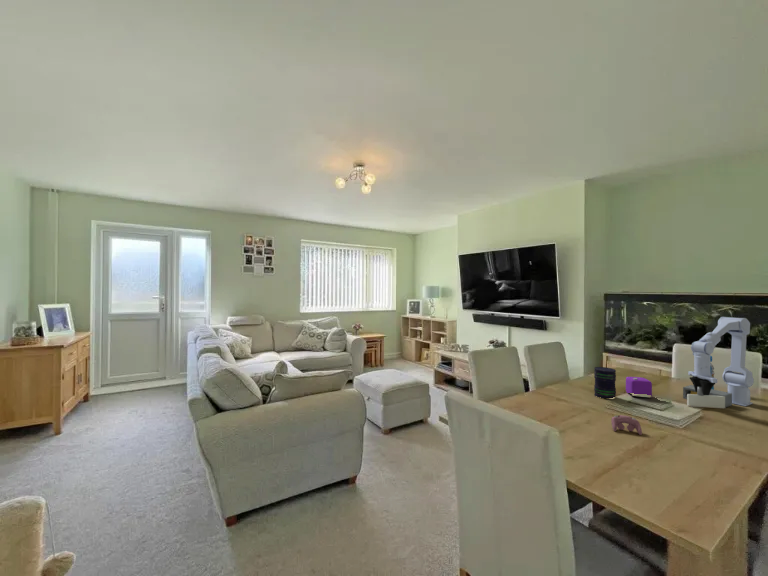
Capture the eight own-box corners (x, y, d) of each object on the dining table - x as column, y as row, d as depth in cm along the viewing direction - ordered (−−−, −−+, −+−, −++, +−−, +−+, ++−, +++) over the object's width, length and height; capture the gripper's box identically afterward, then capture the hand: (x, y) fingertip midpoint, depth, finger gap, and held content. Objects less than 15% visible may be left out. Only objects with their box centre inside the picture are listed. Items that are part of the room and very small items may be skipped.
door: (686, 404, 165) (686, 385, 165) (723, 407, 162) (723, 387, 162) (689, 406, 163) (689, 387, 163) (727, 408, 159) (727, 389, 159)
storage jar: (620, 399, 173) (620, 371, 173) (601, 399, 173) (601, 371, 173) (607, 393, 183) (607, 366, 183) (590, 393, 183) (590, 366, 183)
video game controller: (640, 436, 133) (638, 418, 136) (643, 435, 129) (641, 416, 132) (611, 431, 137) (609, 414, 140) (613, 430, 133) (611, 412, 136)
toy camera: (639, 391, 187) (639, 373, 187) (656, 399, 174) (656, 380, 174) (618, 390, 188) (618, 373, 189) (634, 398, 175) (634, 379, 175)
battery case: (691, 395, 180) (691, 384, 180) (731, 405, 165) (731, 393, 165) (683, 398, 176) (683, 387, 176) (724, 407, 161) (724, 395, 161)
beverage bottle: (701, 391, 187) (701, 356, 188) (690, 387, 196) (690, 353, 196) (718, 392, 186) (718, 357, 186) (706, 388, 194) (706, 354, 194)
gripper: (681, 362, 170) (681, 388, 170) (705, 369, 155) (705, 398, 155) (696, 363, 169) (696, 389, 169) (722, 369, 154) (722, 398, 154)
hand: (702, 393), depth 162 cm, fingers open, 4 cm apart
